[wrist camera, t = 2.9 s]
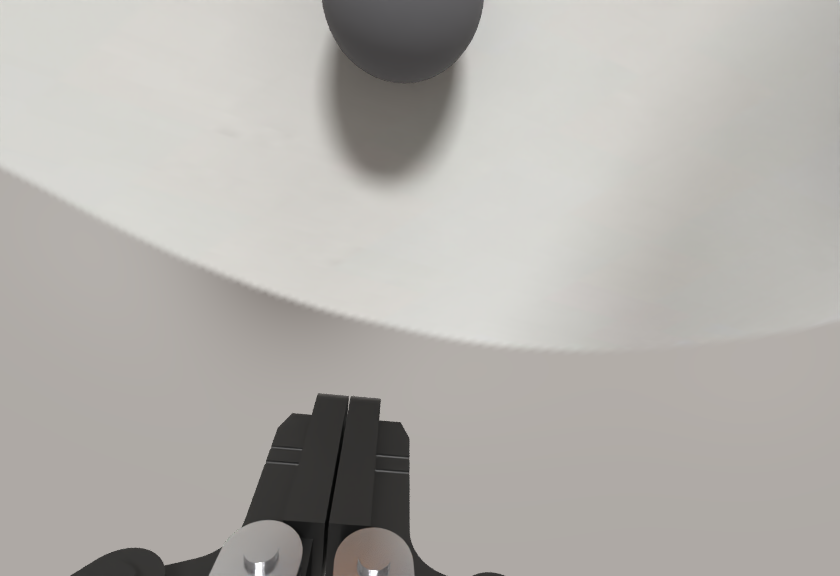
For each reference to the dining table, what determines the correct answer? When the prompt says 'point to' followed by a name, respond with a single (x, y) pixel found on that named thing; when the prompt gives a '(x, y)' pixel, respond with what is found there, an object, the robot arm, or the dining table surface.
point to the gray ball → (403, 34)
